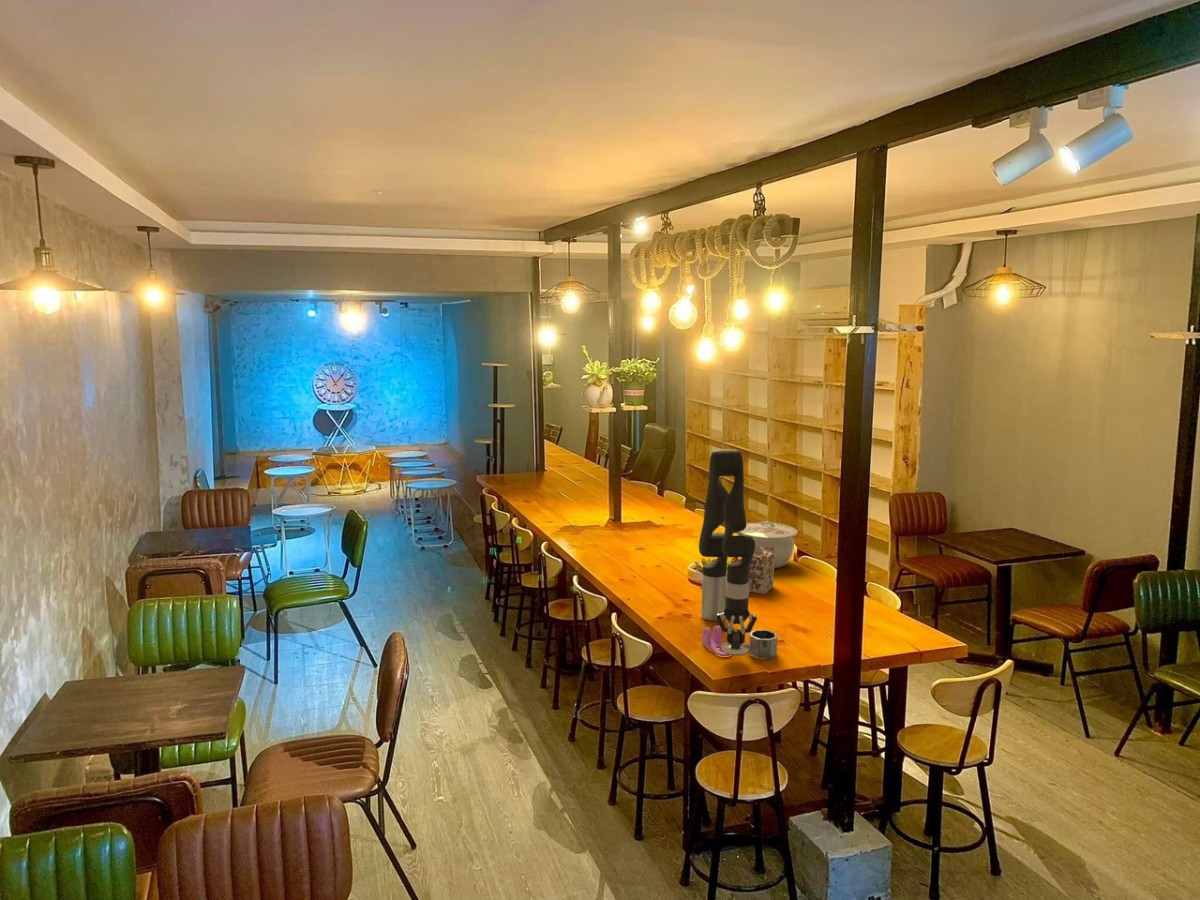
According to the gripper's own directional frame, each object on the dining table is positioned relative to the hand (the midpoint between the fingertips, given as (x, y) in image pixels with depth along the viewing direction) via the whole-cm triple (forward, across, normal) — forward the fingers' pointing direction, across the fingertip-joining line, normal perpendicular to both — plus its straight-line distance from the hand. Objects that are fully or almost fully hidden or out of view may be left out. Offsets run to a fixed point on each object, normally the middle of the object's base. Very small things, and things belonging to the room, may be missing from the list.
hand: (735, 643), depth 277 cm
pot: (+7, -10, -8) cm, 14 cm away
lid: (+2, 0, 0) cm, 2 cm away
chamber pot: (+9, -23, -112) cm, 114 cm away
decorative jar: (+8, -15, -76) cm, 78 cm away
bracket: (+7, +5, -9) cm, 13 cm away
